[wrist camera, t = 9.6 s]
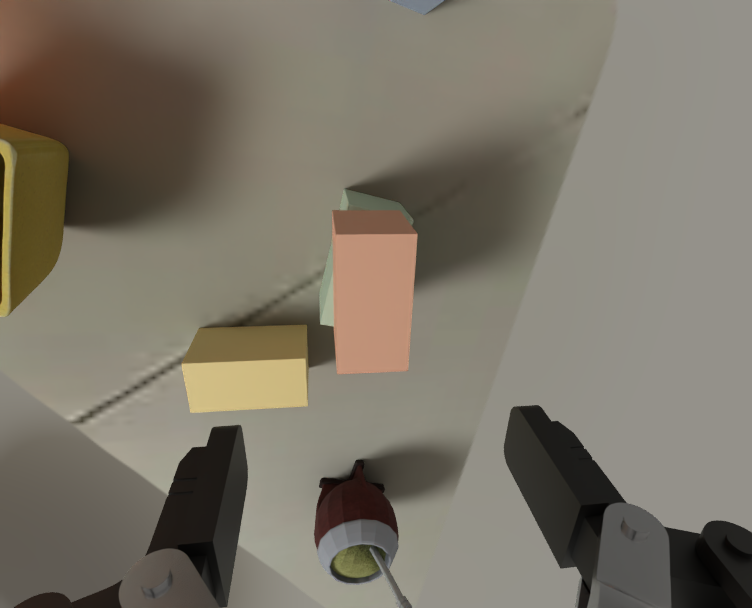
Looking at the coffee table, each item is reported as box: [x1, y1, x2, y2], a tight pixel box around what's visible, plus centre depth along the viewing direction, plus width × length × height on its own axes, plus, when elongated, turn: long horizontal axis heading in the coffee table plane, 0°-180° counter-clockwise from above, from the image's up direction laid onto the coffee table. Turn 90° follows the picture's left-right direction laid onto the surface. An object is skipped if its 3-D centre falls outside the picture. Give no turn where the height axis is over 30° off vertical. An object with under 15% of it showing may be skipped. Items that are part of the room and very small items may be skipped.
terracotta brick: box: [332, 210, 418, 374], centre depth 25 cm, size 8×4×5 cm, turn 178°
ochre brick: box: [182, 325, 309, 413], centre depth 32 cm, size 8×4×5 cm, turn 88°
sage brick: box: [319, 189, 414, 327], centre depth 30 cm, size 8×4×5 cm, turn 165°
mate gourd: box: [314, 460, 412, 608], centre depth 35 cm, size 8×8×15 cm
